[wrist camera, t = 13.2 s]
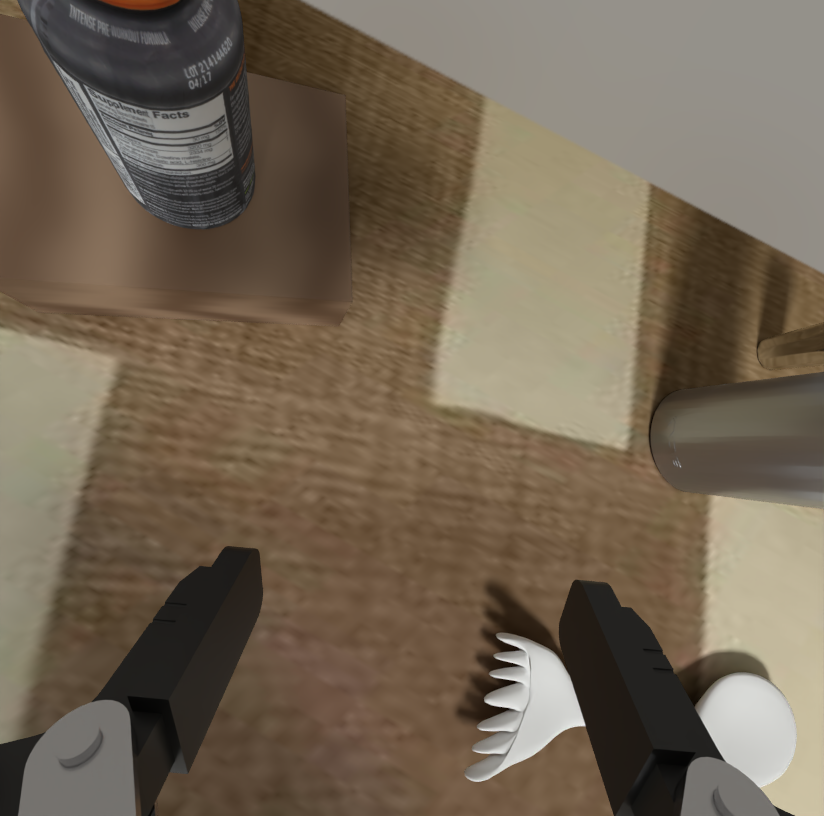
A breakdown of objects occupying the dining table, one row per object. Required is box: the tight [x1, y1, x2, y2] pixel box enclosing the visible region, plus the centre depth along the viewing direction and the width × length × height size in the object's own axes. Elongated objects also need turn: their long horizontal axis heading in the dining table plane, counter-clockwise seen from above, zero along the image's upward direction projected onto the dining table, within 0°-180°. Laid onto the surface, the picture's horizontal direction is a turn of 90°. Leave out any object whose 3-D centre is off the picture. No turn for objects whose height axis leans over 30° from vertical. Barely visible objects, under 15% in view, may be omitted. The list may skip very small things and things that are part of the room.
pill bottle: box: [18, 0, 256, 229], centre depth 14 cm, size 6×6×11 cm
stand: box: [0, 14, 353, 326], centre depth 22 cm, size 16×12×5 cm
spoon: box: [464, 633, 797, 788], centre depth 31 cm, size 9×32×3 cm, turn 73°
